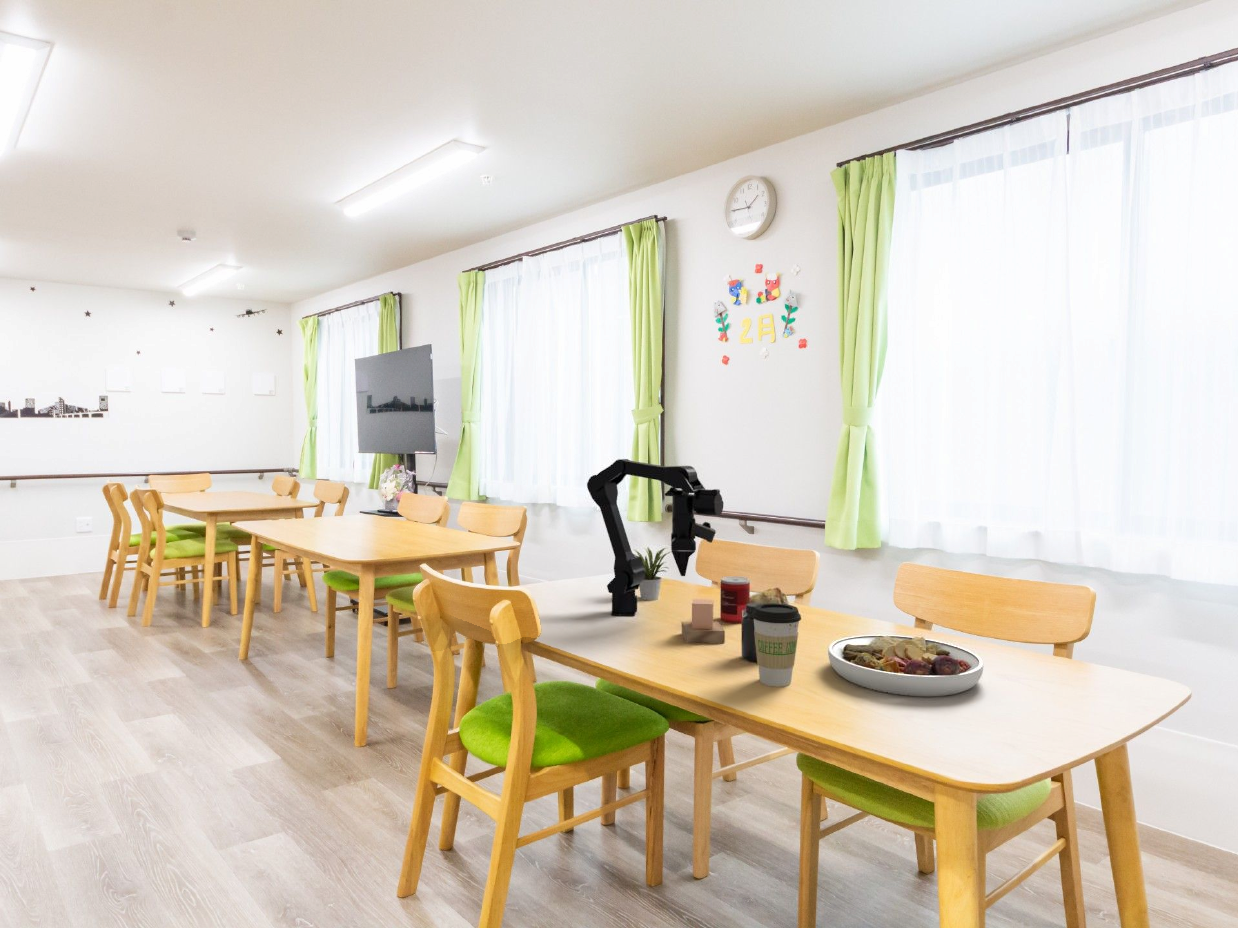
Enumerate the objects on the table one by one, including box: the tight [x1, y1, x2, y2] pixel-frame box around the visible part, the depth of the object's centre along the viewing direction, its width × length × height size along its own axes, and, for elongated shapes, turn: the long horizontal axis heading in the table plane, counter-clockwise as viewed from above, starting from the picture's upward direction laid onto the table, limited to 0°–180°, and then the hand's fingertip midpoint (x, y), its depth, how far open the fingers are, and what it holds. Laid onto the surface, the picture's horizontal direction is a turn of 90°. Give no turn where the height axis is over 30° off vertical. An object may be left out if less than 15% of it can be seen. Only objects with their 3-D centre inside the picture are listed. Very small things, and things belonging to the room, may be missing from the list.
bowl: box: [827, 634, 984, 697], centre depth 162 cm, size 30×30×8 cm
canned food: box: [719, 576, 751, 624], centre depth 209 cm, size 8×8×11 cm
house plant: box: [633, 547, 671, 601], centre depth 235 cm, size 14×14×16 cm
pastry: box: [749, 587, 790, 605], centre depth 214 cm, size 14×12×8 cm
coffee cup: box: [751, 603, 802, 688], centre depth 158 cm, size 10×10×15 cm
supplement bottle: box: [740, 603, 763, 663], centre depth 174 cm, size 7×7×12 cm
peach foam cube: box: [691, 598, 715, 629], centre depth 191 cm, size 5×5×6 cm
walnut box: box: [681, 620, 726, 645], centre depth 191 cm, size 9×9×4 cm
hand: (682, 572), depth 207 cm, fingers open, 9 cm apart
